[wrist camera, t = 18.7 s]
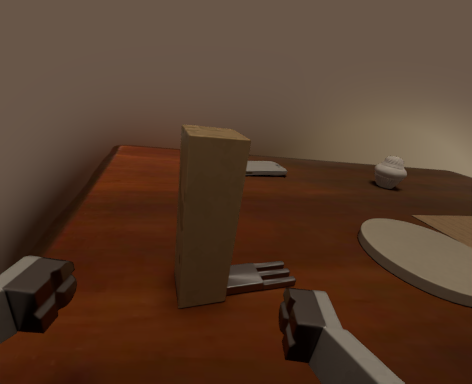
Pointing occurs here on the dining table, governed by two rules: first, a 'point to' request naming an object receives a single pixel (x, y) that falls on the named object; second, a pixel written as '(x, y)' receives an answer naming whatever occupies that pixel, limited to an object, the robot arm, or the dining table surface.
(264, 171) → the smartphone
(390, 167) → the muffin
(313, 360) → the robot arm
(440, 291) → the plate
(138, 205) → the dining table surface
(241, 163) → the brown block with prongs
